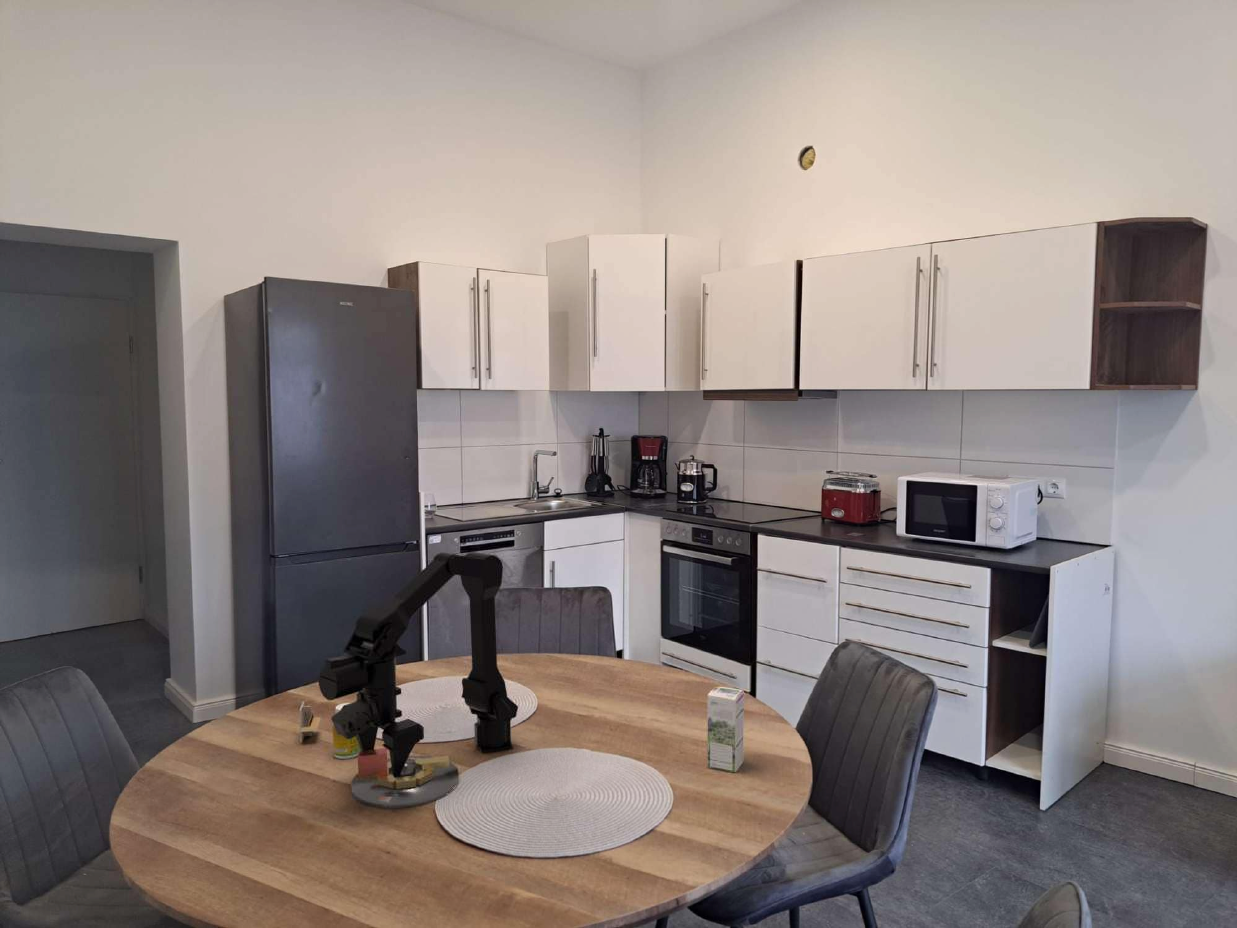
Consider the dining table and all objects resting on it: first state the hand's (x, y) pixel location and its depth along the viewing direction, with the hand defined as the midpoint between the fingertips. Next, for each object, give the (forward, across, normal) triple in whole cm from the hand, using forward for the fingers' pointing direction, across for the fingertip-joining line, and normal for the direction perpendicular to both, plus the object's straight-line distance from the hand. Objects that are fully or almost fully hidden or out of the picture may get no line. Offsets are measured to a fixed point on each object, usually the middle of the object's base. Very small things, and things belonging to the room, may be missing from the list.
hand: (382, 768), depth 152 cm
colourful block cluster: (+3, 0, +4) cm, 5 cm away
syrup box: (+4, +39, +50) cm, 64 cm away
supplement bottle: (+5, -20, +4) cm, 21 cm away
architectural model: (+5, -34, +3) cm, 34 cm away
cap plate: (+4, 0, +4) cm, 6 cm away
